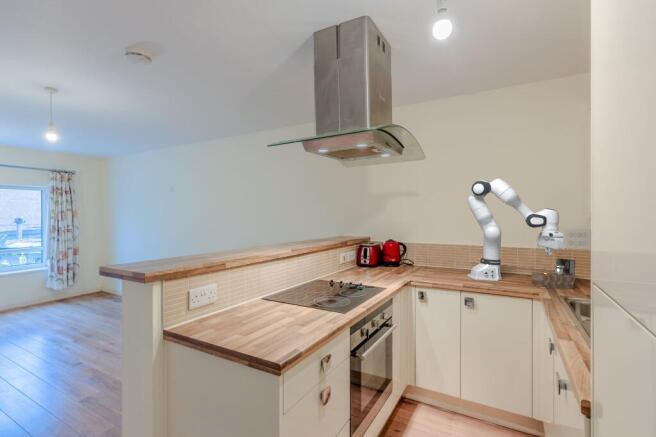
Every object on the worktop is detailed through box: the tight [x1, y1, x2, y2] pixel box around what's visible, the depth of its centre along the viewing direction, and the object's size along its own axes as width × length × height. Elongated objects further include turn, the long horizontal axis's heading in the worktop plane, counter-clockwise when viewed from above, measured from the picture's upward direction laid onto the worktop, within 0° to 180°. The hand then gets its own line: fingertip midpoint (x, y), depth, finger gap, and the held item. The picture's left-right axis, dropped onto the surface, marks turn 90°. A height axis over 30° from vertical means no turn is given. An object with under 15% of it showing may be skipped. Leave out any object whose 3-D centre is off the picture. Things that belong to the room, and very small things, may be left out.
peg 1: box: [540, 271, 553, 275], centre depth 203 cm, size 6×6×9 cm
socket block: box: [531, 271, 575, 290], centre depth 203 cm, size 20×10×8 cm, turn 88°
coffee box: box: [555, 257, 576, 285], centre depth 214 cm, size 9×6×16 cm
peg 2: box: [553, 264, 565, 275], centre depth 202 cm, size 6×6×9 cm
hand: (548, 254), depth 202 cm, fingers closed
